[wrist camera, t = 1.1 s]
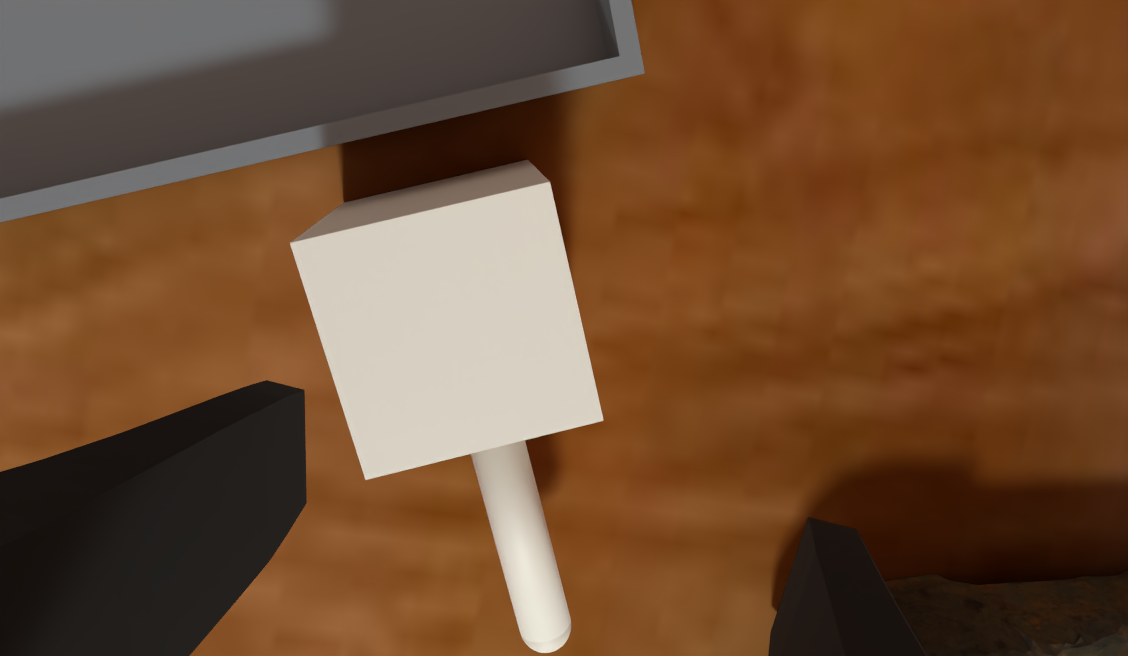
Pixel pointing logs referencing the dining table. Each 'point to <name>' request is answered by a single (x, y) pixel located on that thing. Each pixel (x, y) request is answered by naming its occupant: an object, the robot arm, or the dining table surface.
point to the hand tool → (1016, 616)
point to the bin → (266, 80)
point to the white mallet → (459, 349)
